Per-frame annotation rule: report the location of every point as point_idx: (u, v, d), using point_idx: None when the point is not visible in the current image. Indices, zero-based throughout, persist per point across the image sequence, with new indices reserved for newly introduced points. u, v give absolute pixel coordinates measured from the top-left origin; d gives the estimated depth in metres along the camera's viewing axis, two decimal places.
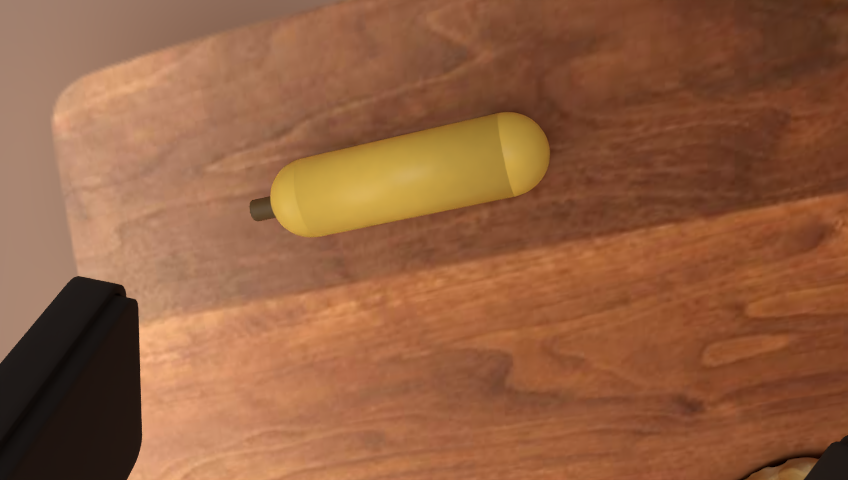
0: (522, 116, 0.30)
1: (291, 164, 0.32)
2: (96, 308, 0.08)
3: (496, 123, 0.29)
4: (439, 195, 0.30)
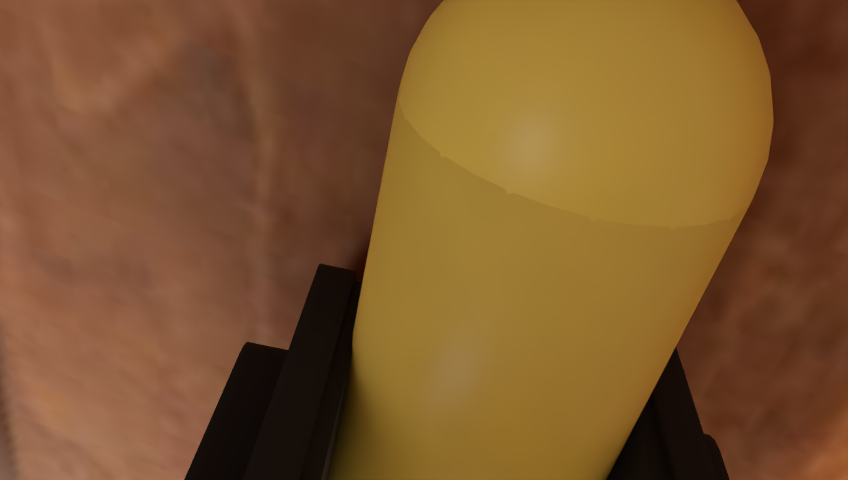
0: None
1: None
2: (347, 291, 0.09)
3: (406, 124, 0.07)
4: (555, 461, 0.07)
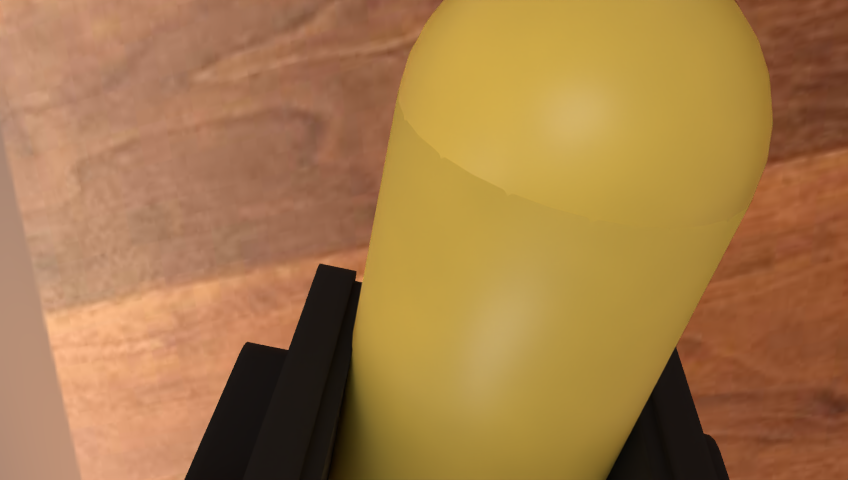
0: None
1: None
2: (347, 291, 0.09)
3: (405, 125, 0.07)
4: (554, 462, 0.07)
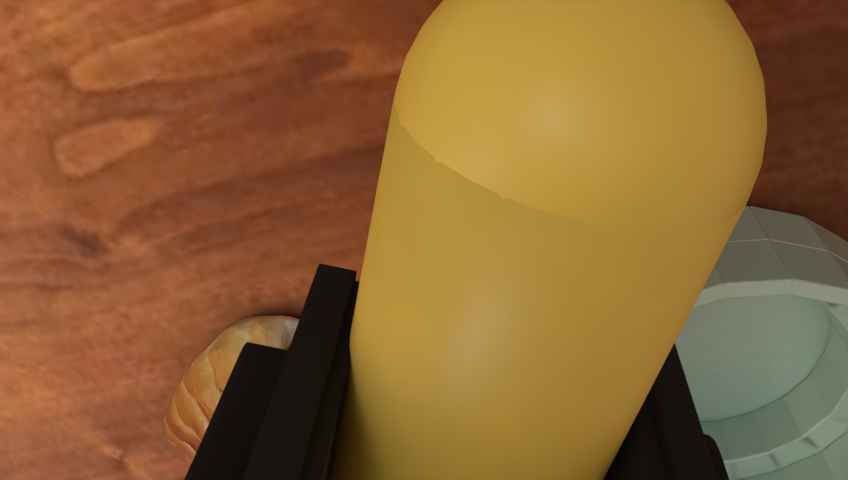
0: (445, 2, 0.07)
1: None
2: (347, 291, 0.09)
3: (402, 129, 0.07)
4: (550, 464, 0.07)
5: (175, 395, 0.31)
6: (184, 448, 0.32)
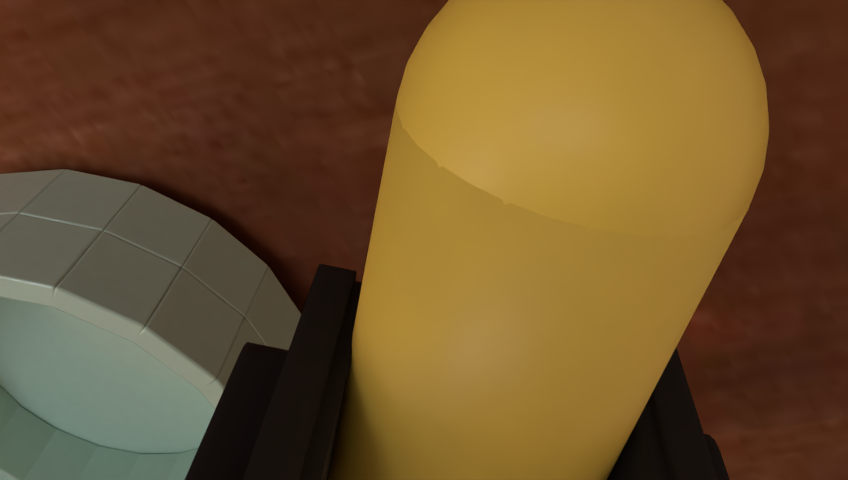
0: (447, 6, 0.07)
1: None
2: (347, 291, 0.09)
3: (404, 133, 0.07)
4: (552, 468, 0.08)
5: None
6: None
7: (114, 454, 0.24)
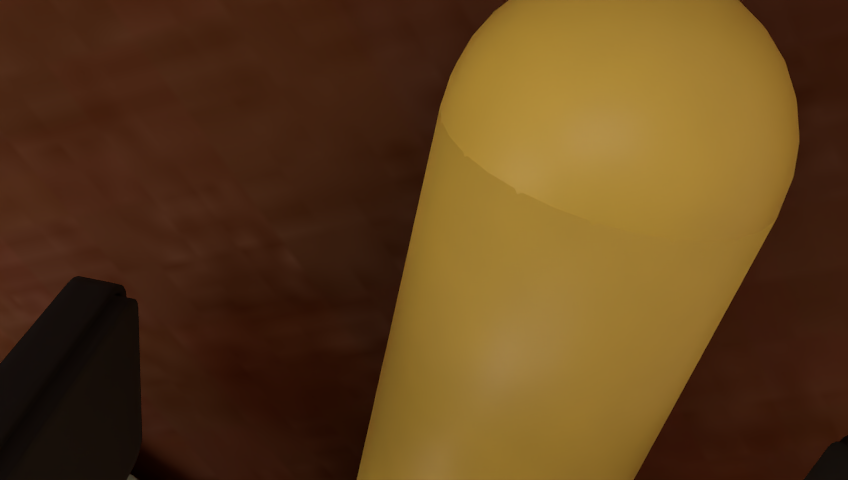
0: (496, 31, 0.07)
1: None
2: (96, 308, 0.08)
3: (468, 161, 0.07)
4: (616, 458, 0.08)
5: None
6: None
7: None
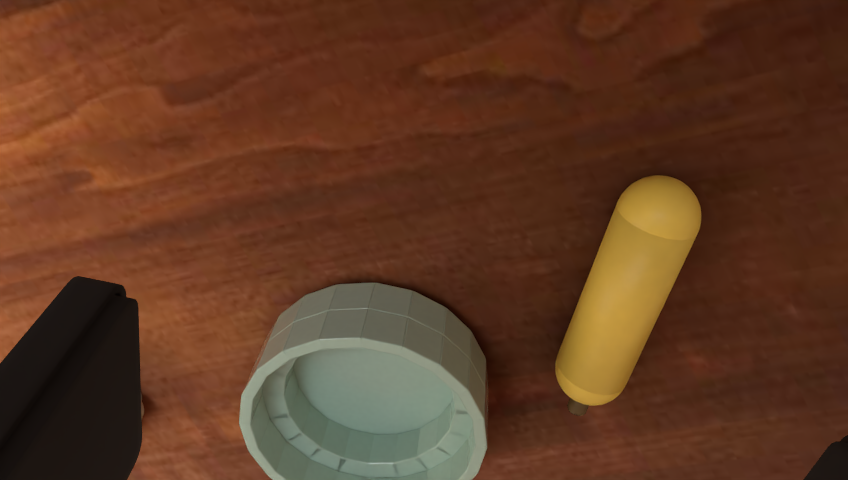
0: (648, 205, 0.30)
1: (573, 388, 0.35)
2: (96, 308, 0.08)
3: (650, 234, 0.30)
4: (671, 288, 0.32)
5: None
6: None
7: (360, 434, 0.41)
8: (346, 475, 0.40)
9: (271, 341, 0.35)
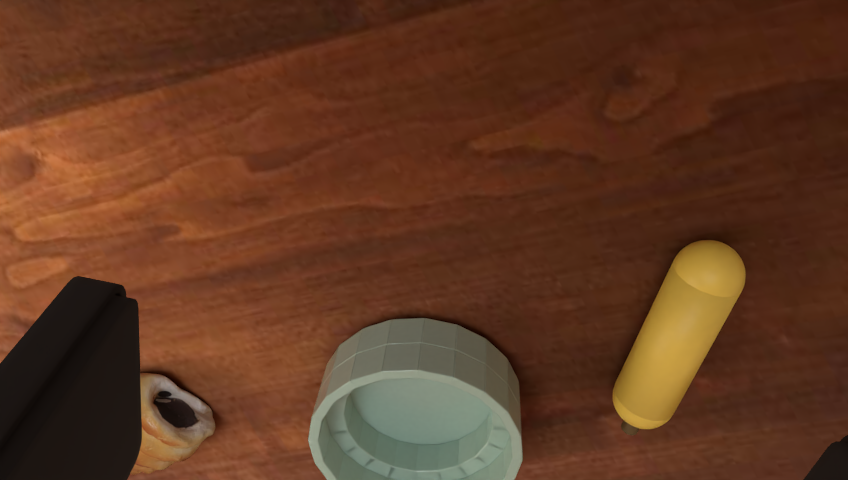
0: (733, 277, 0.35)
1: (662, 423, 0.41)
2: (96, 308, 0.08)
3: (737, 295, 0.36)
4: None
5: None
6: None
7: (406, 444, 0.47)
8: None
9: (336, 370, 0.41)
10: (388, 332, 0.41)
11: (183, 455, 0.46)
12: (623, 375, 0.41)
